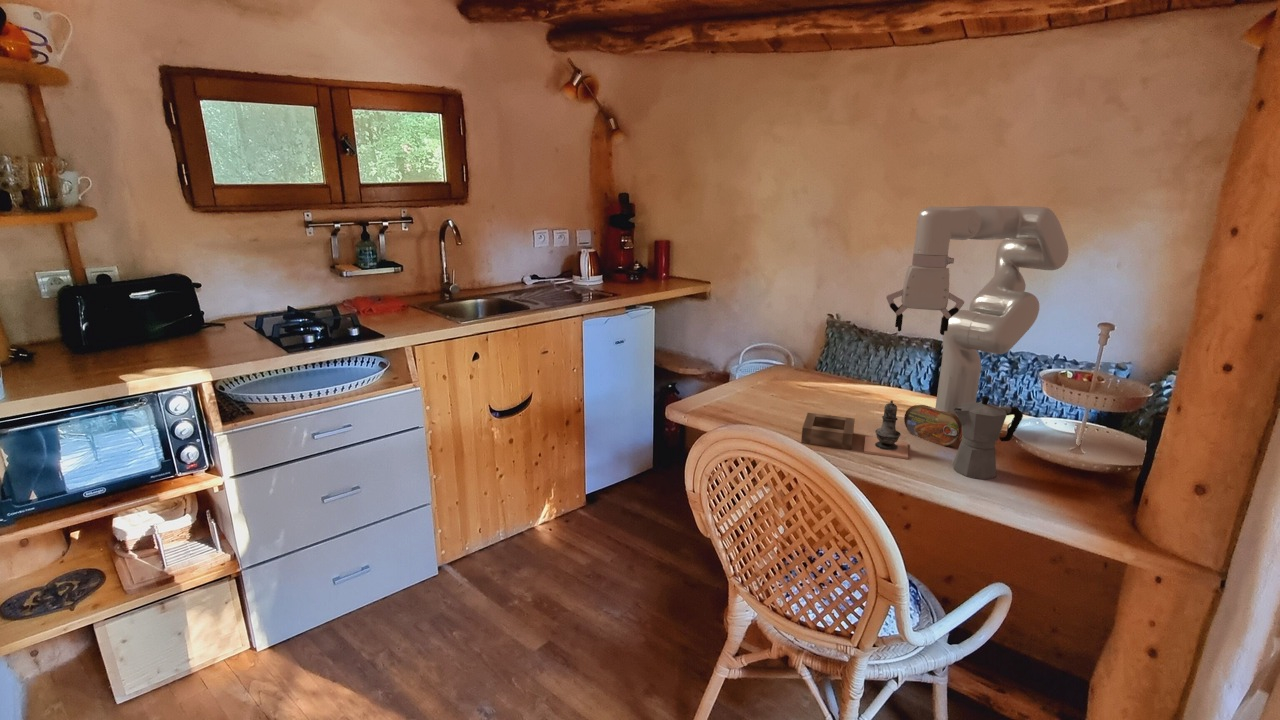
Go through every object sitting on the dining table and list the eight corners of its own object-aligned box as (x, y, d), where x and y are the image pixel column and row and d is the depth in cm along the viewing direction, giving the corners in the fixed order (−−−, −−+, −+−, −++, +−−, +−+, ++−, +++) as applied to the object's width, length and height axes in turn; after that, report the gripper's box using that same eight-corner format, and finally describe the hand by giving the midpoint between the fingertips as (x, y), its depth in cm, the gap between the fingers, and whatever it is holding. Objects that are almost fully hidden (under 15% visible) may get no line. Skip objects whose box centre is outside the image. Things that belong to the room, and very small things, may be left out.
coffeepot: (954, 479, 143) (966, 402, 138) (936, 462, 152) (946, 389, 147) (1024, 480, 143) (1038, 403, 138) (1001, 463, 152) (1014, 390, 147)
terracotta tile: (906, 444, 162) (907, 441, 162) (907, 459, 153) (908, 456, 153) (864, 438, 166) (865, 436, 165) (863, 452, 157) (863, 450, 156)
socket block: (853, 432, 169) (854, 418, 168) (851, 449, 158) (852, 434, 157) (806, 426, 173) (807, 412, 172) (801, 442, 162) (802, 427, 161)
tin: (901, 431, 171) (905, 401, 169) (909, 429, 173) (912, 399, 170) (955, 450, 159) (960, 418, 157) (962, 448, 161) (967, 416, 158)
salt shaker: (868, 443, 161) (873, 397, 158) (887, 440, 163) (892, 395, 160) (885, 452, 156) (890, 405, 152) (904, 448, 158) (910, 402, 154)
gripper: (967, 262, 154) (957, 332, 158) (890, 258, 159) (882, 326, 164) (971, 265, 147) (960, 338, 151) (890, 261, 153) (882, 332, 157)
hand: (920, 332), depth 158 cm, fingers open, 9 cm apart
